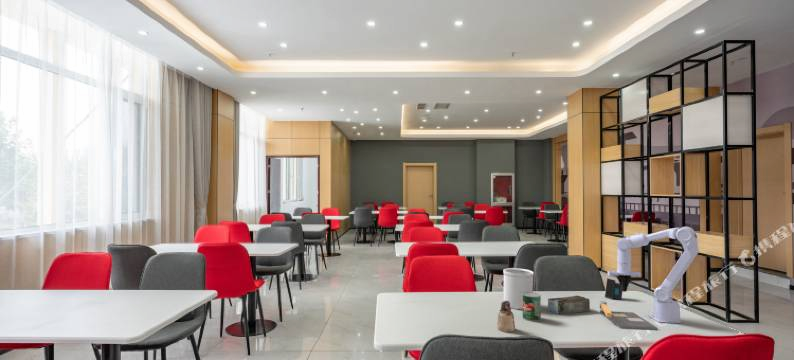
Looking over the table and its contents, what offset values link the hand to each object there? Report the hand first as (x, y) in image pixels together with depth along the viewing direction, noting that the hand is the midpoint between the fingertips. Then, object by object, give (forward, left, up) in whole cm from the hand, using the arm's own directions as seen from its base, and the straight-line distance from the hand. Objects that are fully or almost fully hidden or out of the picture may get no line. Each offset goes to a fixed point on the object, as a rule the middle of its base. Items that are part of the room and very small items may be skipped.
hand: (623, 291), depth 195 cm
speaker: (-7, -27, -11) cm, 30 cm away
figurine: (+61, +31, -11) cm, 69 cm away
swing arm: (+13, +10, -8) cm, 18 cm away
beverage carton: (+26, +1, -11) cm, 28 cm away
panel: (+4, +13, -10) cm, 17 cm away
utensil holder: (+49, -5, -11) cm, 50 cm away
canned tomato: (+47, +15, -11) cm, 50 cm away
